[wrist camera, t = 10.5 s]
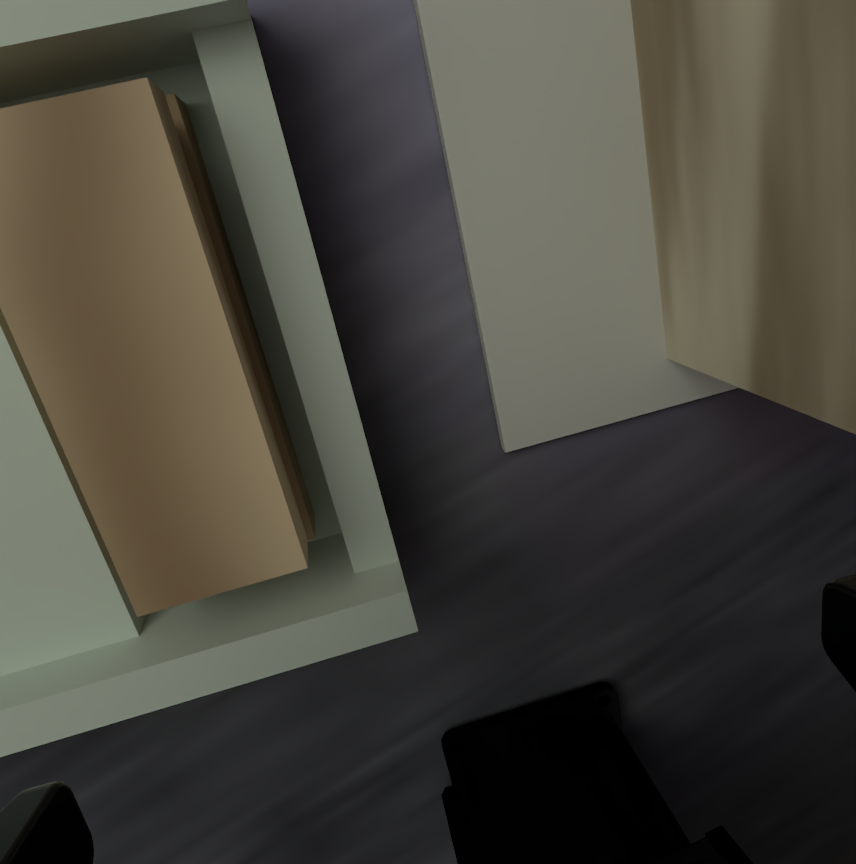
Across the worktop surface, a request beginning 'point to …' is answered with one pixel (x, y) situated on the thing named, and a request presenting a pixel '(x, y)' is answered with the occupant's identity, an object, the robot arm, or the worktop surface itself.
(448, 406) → the worktop surface
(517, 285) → the grey mat
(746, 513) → the worktop surface
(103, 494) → the offcut stack
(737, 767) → the worktop surface
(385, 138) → the worktop surface
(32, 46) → the rack
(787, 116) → the tan wooden block
